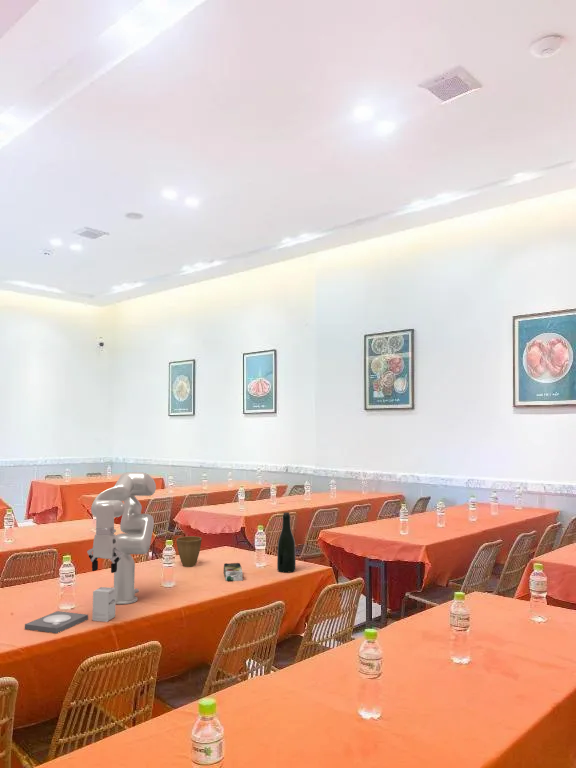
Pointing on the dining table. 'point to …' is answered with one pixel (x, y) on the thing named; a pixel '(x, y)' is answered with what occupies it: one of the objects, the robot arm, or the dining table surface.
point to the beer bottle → (286, 547)
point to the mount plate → (56, 621)
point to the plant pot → (189, 550)
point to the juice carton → (233, 572)
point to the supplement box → (104, 604)
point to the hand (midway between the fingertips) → (104, 571)
